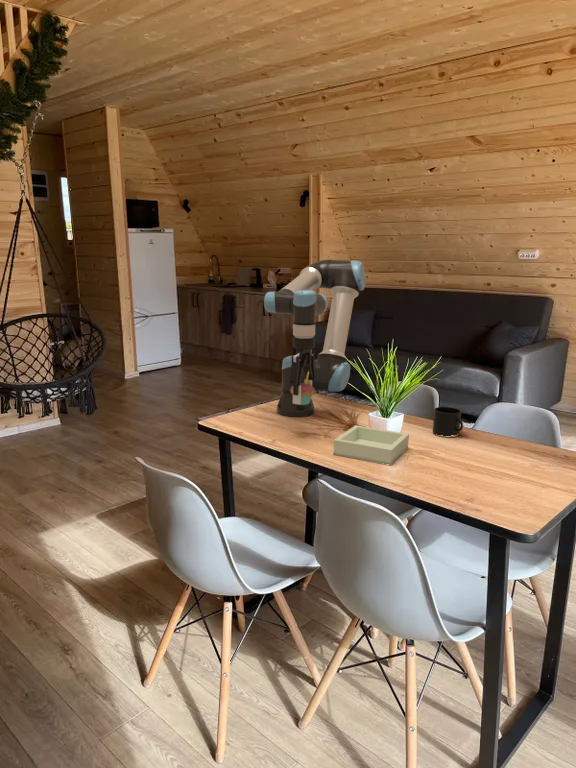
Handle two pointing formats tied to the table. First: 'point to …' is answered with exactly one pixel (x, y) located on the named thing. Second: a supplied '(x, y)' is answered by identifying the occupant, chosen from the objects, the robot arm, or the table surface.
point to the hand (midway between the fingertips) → (302, 400)
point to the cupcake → (305, 391)
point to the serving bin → (371, 444)
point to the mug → (447, 421)
